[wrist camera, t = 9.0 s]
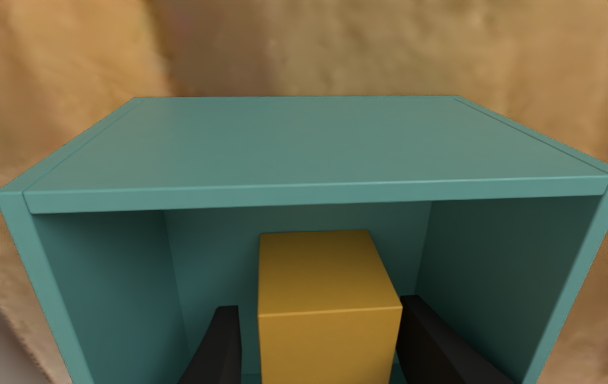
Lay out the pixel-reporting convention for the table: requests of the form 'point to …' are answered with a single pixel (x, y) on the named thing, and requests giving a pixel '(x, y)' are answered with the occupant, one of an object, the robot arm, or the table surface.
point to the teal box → (301, 222)
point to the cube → (325, 309)
